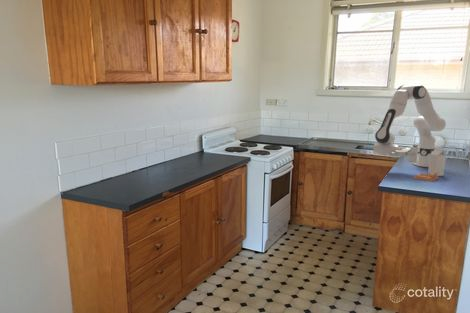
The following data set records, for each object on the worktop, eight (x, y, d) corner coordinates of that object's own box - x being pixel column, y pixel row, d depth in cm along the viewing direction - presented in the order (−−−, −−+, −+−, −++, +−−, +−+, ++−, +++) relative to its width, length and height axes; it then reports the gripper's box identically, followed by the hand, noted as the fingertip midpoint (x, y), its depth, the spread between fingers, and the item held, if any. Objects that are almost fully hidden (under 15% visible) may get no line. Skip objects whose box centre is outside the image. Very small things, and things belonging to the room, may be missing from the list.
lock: (411, 160, 276) (412, 144, 274) (419, 162, 273) (421, 145, 270) (408, 161, 273) (410, 145, 270) (417, 163, 269) (419, 146, 267)
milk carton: (435, 176, 269) (438, 149, 266) (427, 174, 276) (430, 148, 272) (443, 176, 271) (446, 149, 267) (435, 173, 278) (439, 147, 274)
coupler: (419, 175, 272) (420, 169, 271) (438, 178, 264) (438, 172, 263) (413, 178, 262) (413, 172, 261) (432, 181, 254) (433, 175, 253)
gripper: (390, 148, 272) (411, 151, 263) (401, 145, 287) (420, 147, 278) (390, 157, 273) (410, 160, 264) (400, 153, 288) (419, 156, 279)
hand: (415, 153), depth 271 cm, fingers closed on lock, 5 cm apart
